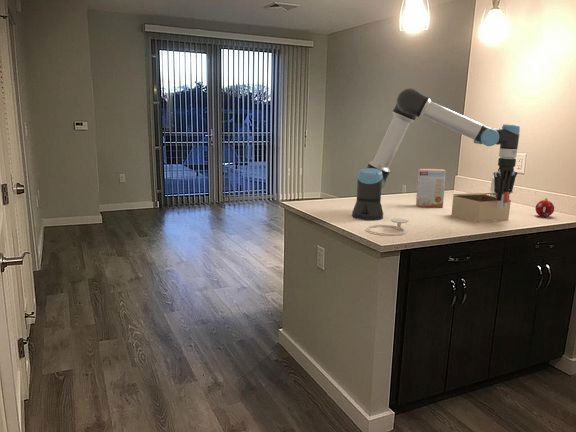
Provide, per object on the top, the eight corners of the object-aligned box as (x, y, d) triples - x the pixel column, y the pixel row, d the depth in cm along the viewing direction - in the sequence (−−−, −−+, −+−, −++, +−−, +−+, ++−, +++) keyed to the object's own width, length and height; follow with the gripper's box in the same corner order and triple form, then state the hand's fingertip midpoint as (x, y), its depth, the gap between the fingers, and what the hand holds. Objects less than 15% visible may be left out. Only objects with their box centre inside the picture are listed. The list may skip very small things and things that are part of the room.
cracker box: (440, 206, 267) (444, 169, 263) (443, 208, 262) (446, 170, 257) (415, 204, 269) (418, 168, 264) (417, 207, 263) (420, 169, 258)
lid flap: (492, 203, 219) (492, 192, 219) (453, 203, 242) (453, 194, 242) (523, 201, 227) (523, 190, 227) (483, 201, 250) (482, 192, 250)
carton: (478, 222, 228) (480, 202, 226) (451, 214, 244) (453, 195, 242) (508, 219, 236) (510, 199, 234) (480, 212, 252) (482, 193, 250)
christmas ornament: (553, 216, 247) (556, 197, 245) (552, 219, 240) (555, 199, 238) (535, 214, 252) (537, 195, 249) (533, 216, 244) (536, 197, 242)
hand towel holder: (358, 220, 208) (392, 215, 219) (358, 230, 209) (391, 224, 220) (385, 228, 195) (420, 222, 205) (385, 238, 195) (419, 232, 206)
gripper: (502, 158, 216) (496, 209, 221) (525, 158, 221) (518, 207, 227) (489, 157, 222) (483, 206, 227) (512, 156, 228) (506, 205, 233)
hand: (501, 207), depth 227 cm, fingers closed on lid flap, 1 cm apart
